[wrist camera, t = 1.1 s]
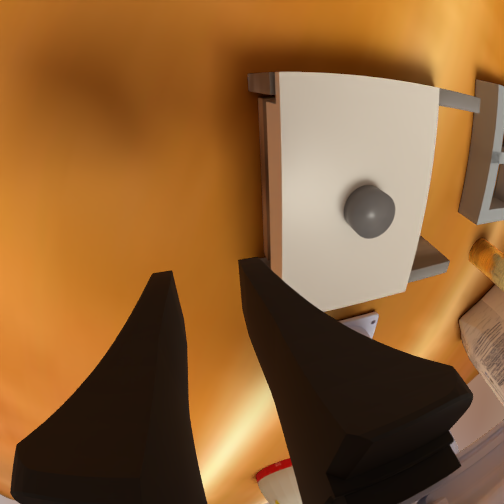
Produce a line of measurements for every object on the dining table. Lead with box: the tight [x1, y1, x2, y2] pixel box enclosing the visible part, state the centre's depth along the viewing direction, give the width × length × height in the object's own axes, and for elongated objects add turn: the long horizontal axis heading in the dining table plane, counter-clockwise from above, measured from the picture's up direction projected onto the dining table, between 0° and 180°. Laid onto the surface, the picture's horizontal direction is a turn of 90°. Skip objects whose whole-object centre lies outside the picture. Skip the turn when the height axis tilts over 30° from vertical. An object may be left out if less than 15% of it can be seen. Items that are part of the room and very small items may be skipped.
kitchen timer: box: [256, 458, 302, 504], centre depth 41 cm, size 14×14×15 cm
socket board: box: [458, 79, 504, 225], centre depth 20 cm, size 12×7×2 cm, turn 2°
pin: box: [469, 238, 504, 292], centre depth 24 cm, size 3×3×6 cm
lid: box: [266, 72, 440, 312], centre depth 15 cm, size 13×9×3 cm
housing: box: [248, 72, 481, 283], centre depth 17 cm, size 13×14×4 cm
